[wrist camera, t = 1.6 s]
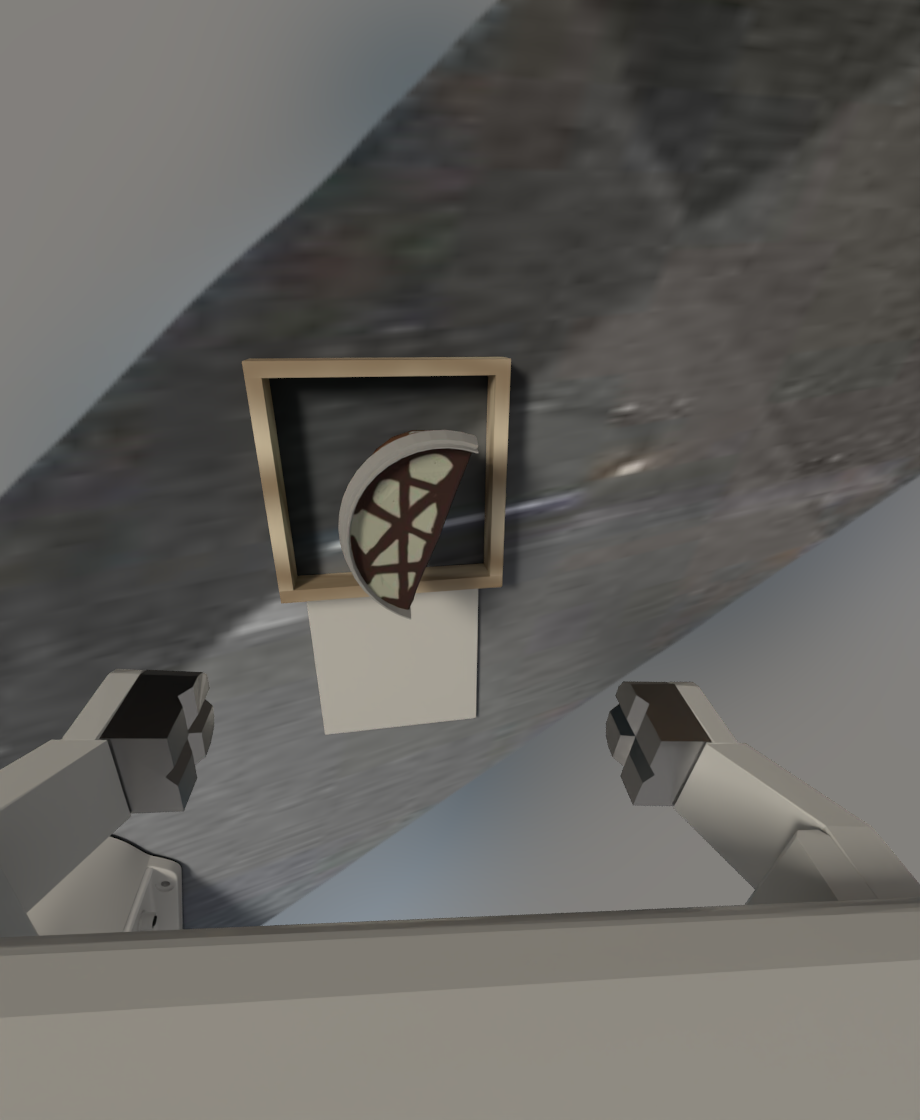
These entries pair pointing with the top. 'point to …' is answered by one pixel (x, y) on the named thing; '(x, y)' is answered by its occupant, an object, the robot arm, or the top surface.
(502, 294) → the top surface
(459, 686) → the mat
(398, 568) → the food container
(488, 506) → the frame
